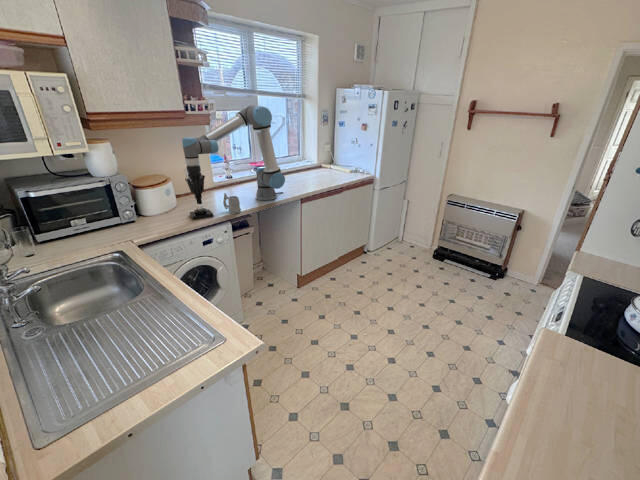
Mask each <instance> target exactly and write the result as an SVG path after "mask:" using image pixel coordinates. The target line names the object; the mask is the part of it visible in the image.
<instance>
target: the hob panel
mask: <svg viewBox="0 0 640 480" xmlns="http://www.w3.org/2000/svg"><path fill="white" fill-rule="evenodd" d="M189 216H190V217H191V219H192V220H193V221H195V220H203V219H209V218H214V213H213V212H212V211H211V209H209V208H208V209H207V208H205V207H204V211H197V208H196V209H194V211H189Z"/></svg>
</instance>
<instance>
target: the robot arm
mask: <svg viewBox="0 0 640 480" xmlns="http://www.w3.org/2000/svg"><path fill="white" fill-rule="evenodd" d="M272 121H273V114H272V112H271V110H270V109H269V108H268V107H266V106H264V105H257V104H255V105H254V104H252V105H248V106H246V107H245V108H242V109H241V110H239V111H238V112H236V113H235V115H234V116H233V117H231V118H229V119H228V120H226V121H225V122H223V123H221V124H220V125H218V126H216V127H215V128H213V129H210V130H209V131H208V132H206V133H205V134H203V135H201V136H199V137H192V136H191V137H183V138H182V139H181V143H182V149H183V155H184V161H185V165H186V172H187V173H188V174H187V177H186V178H185V180H184V181H185V182H186V184H187V186H188V188H189V190H190V193H191V194H193V195H194V198H195V200H196V204H197V205H202V204H203V202H202V198H203V196H202V194H203V192H204V191H205V178H206V175H204V174H202V169H201V168H202V167H201V165H200V164H201V162H200V157H199V155H208V154H212V155H213V154H218V152H219V144H218V142H220V141H221V140H224V139H225V138H227V137H228V136H230V135H231V134H234V133H235V132H236V131H238V130H239V129H241V128H246V127H248V126H251V125H252V129H253V131H254V132H256V136H257V141H258V145H259V148H260V154H261V156H262V161H263V166H260V167H259V166H258V167H256V170H255V173H256V174H255V175H256V185H257V190H256V194H255V199H256V200H258V201H272V200H276V199H277V197H278V196H277V195H279V194H283V193H284V192H283V191H279V192H276V190H278V189H281V188H282V187H283V186H284V185H285V183H286V177H285V174H283V173H282V171H281V167H280V166H279V165H278V163H277V157H276V153H275V149H274V144H273V140H272V136H271V131H270V129H271V128H272V124H271V123H272Z"/></svg>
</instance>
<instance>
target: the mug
mask: <svg viewBox="0 0 640 480" xmlns="http://www.w3.org/2000/svg"><path fill="white" fill-rule="evenodd" d="M239 198H240V197H239V196H237V195H231V196H228V195H227V193H225V192H224V193H223V201H222V202H223V207H224V209H225V210H228V212H229V213H230V214H240V213H241V212H242V211H241V210H242V208H241V205H240V203H241V202H240V199H239ZM227 200H228V201H227ZM227 203H228V204H227Z"/></svg>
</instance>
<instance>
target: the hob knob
mask: <svg viewBox="0 0 640 480" xmlns="http://www.w3.org/2000/svg"><path fill="white" fill-rule="evenodd" d="M204 208H205V207H204V206H197V207H196V209H197V211H204Z"/></svg>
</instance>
